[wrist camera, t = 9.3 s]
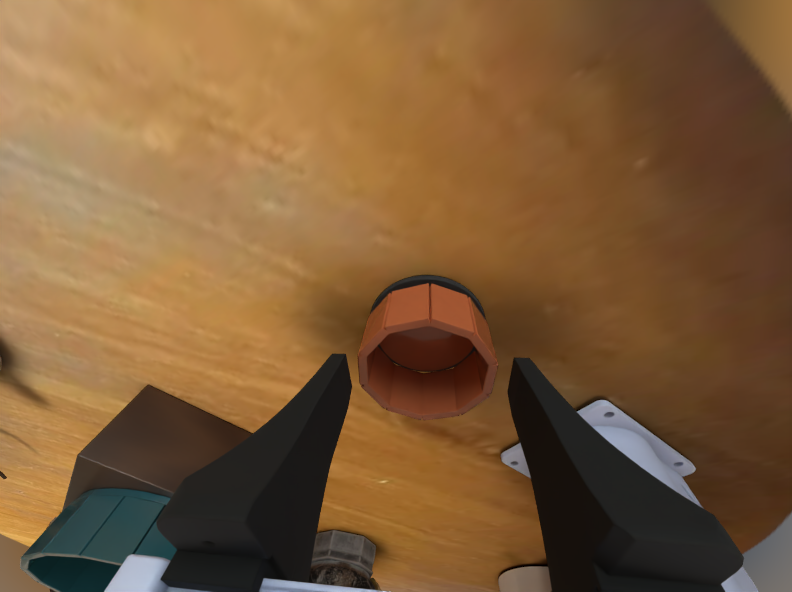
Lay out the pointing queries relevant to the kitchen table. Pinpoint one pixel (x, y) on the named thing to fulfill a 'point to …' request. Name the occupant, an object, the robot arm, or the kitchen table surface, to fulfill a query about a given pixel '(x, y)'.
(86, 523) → the big bowl
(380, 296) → the coaster
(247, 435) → the stand
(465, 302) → the small bowl
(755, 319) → the kitchen table surface
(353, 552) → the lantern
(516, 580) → the cup
